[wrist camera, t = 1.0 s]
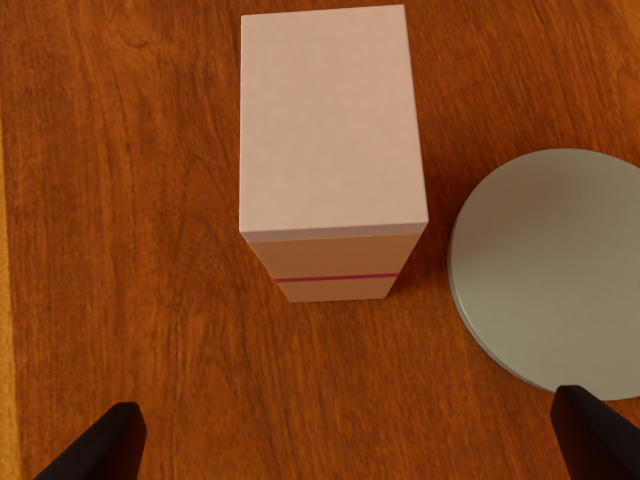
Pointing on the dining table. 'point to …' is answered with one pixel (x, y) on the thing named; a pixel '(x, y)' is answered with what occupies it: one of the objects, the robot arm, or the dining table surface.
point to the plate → (554, 270)
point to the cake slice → (330, 150)
